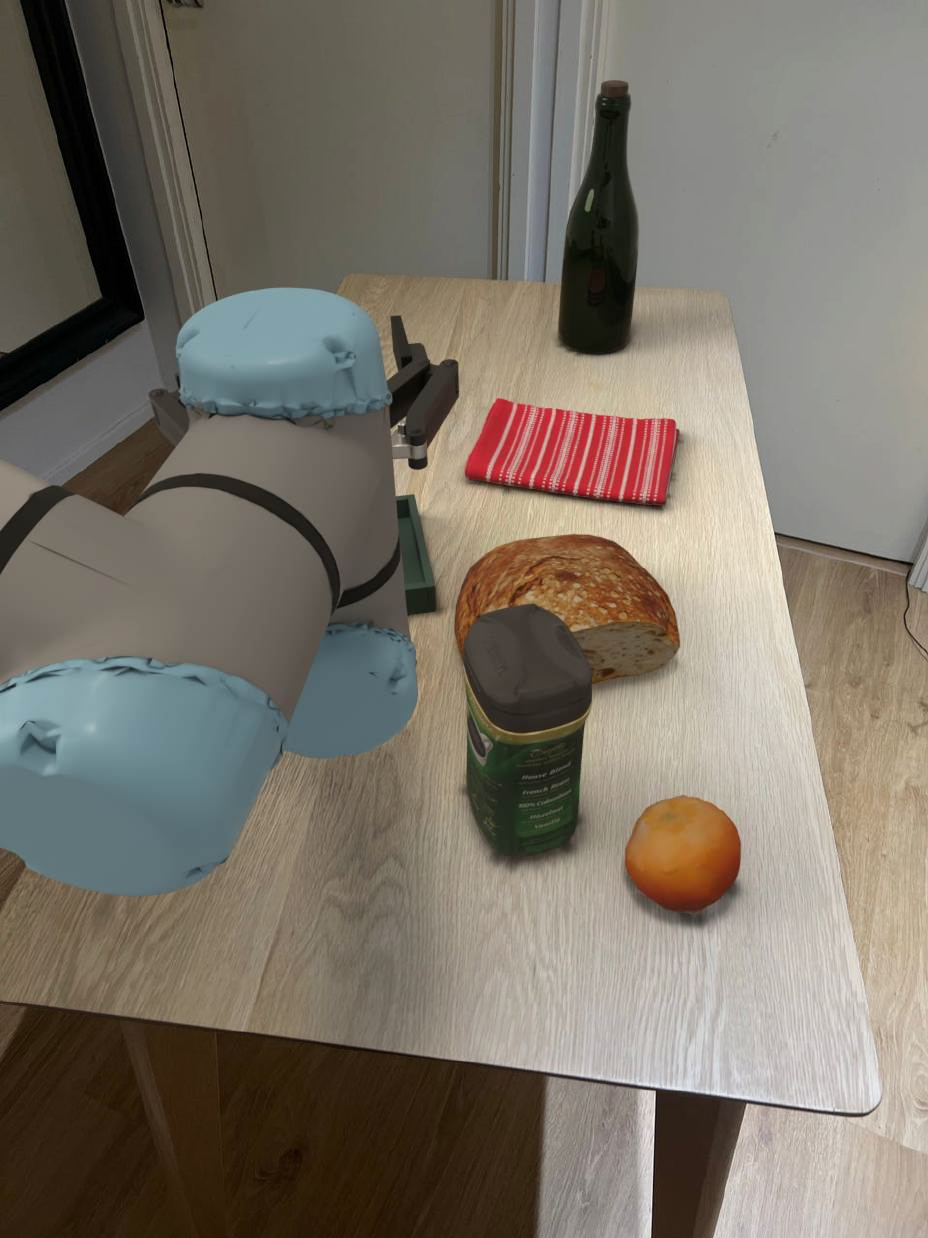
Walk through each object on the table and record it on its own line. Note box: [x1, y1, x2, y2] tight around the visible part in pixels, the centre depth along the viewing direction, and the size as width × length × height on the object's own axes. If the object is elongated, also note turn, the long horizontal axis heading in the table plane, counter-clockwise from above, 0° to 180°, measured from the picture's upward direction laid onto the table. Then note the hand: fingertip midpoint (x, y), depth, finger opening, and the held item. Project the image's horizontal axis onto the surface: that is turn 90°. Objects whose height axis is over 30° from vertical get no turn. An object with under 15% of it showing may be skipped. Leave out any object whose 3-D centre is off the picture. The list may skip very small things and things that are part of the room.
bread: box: [453, 533, 681, 685], centre depth 82 cm, size 20×18×10 cm
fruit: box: [624, 794, 742, 919], centre depth 64 cm, size 8×8×8 cm
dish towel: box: [464, 397, 680, 506], centre depth 106 cm, size 17×24×3 cm
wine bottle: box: [557, 79, 640, 354], centre depth 119 cm, size 10×10×33 cm
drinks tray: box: [396, 493, 437, 616], centre depth 91 cm, size 18×16×3 cm
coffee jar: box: [462, 603, 593, 859], centre depth 64 cm, size 10×8×19 cm
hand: (304, 341), depth 65 cm, fingers open, 13 cm apart
